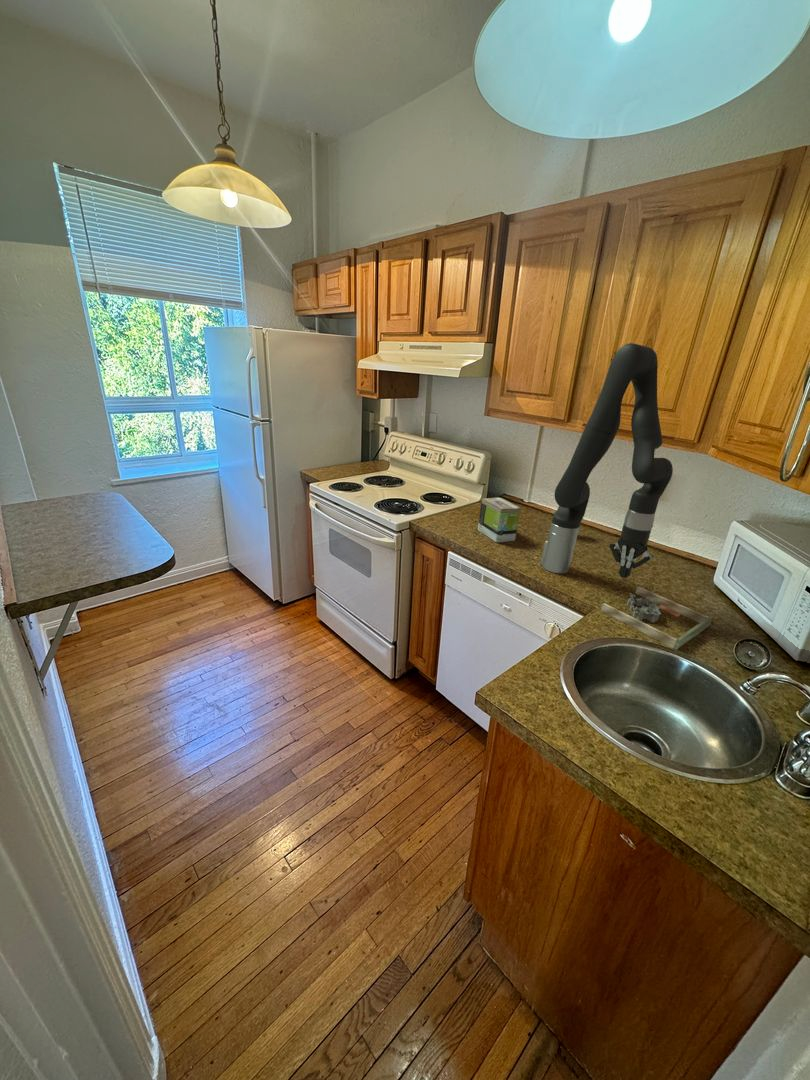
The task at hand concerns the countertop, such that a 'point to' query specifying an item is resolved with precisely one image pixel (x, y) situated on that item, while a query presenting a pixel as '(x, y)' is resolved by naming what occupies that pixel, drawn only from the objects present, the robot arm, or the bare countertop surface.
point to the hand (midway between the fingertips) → (623, 576)
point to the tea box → (498, 519)
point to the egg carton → (644, 608)
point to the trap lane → (667, 607)
